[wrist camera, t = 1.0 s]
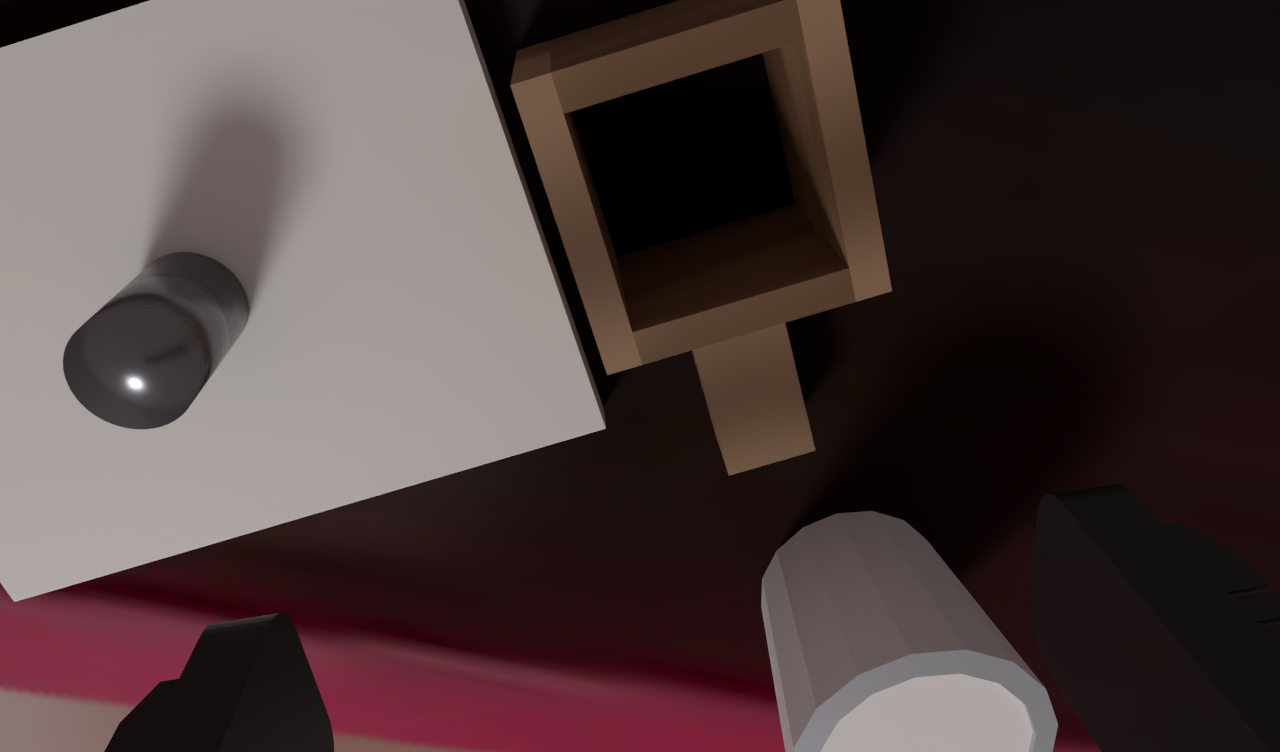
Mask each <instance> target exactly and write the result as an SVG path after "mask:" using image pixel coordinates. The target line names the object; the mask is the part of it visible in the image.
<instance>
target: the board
mask: <svg viewBox="0 0 1280 752" xmlns="http://www.w3.org/2000/svg"><path fill="white" fill-rule="evenodd" d="M176 252H192V253H198V254H202V255H205V256H208V257H210V258H213V259H215V260H217V261H218V262H220V263H222V264H223V265H225V266H226V267H227V268H228V269H229V270H231V271H232V272H233V274H234V275H235V276H236V277H237V278H238V280H239V281H240V282H241V284H242V286H243V287H244V290H245V292H246V294H247V298H248V303H249V316H248V321H247V324H246V327H245V329H244V331H243V332H242V334H241V335H240V336H239V338H238V339H237V341H236V342H235V343H234V345H233V346H232V348H231V349H230V350H229V352H228V353H227V355H226V356H225V357H224V359H223V360H222V362H221V363H220V365H219V366H218V367H217V369H216V370H215V372H214V373H213V374H212V376H211V377H210V379H209V380H208V381H207V383H206V384H205V386H204V387H203V388H202V390H201V391H200V393H199V394H198V395H197V397H196V398H195V400H194V401H193V402H192V404H191V405H190V407H189V408H188V409H187V411H186V412H185V413H184V414H183V415H182V416H181V417H179V418H178V419H177V420H175V421H173V422H171V423H169V424H167V425H164V426H162V427H158V428H153V429H129V428H124V427H120V426H117V425H114V424H111V423H109V422H106V421H104V420H102V419H100V418H99V417H97V416H95V415H94V414H92V413H91V412H90V411H88V410H87V409H86V408H85V407H84V406H83V405H82V404H81V403H80V402H79V401H78V400H77V399H76V397H75V396H74V394H73V393H72V392H71V390H70V388H69V386H68V384H67V381H66V379H65V375H64V371H63V354H64V351H65V347H66V345H67V343H68V341H69V339H70V338H71V336H72V335H73V334H74V333H75V332H76V331H77V329H79V328H80V327H81V326H82V325H83V324H84V323H85V322H86V321H87V320H89V319H90V318H91V317H92V316H93V315H94V314H95V313H96V312H97V311H99V310H100V309H101V308H102V307H103V306H104V305H105V304H106V303H107V302H108V301H110V300H111V299H112V298H113V297H114V296H115V295H116V294H117V293H118V292H120V291H121V290H122V289H123V288H124V287H125V286H126V285H127V284H128V283H129V282H131V281H132V280H133V279H134V278H135V277H136V276H137V275H138V274H139V273H141V272H142V271H143V270H144V269H145V268H146V267H147V266H148V265H149V264H151V263H152V262H153V261H154V260H156V259H158V258H160V257H162V256H164V255H167V254H171V253H176ZM602 429H606V425H605V417H604V408H603V405H602V402H601V399H600V396H599V393H598V391H597V388H596V385H595V382H594V379H593V376H592V373H591V370H590V367H589V364H588V361H587V358H586V355H585V353H584V350H583V347H582V344H581V341H580V338H579V335H578V332H577V329H576V326H575V323H574V320H573V317H572V315H571V312H570V309H569V306H568V303H567V300H566V297H565V294H564V291H563V288H562V285H561V282H560V279H559V277H558V274H557V271H556V268H555V265H554V262H553V259H552V256H551V253H550V250H549V247H548V244H547V241H546V239H545V236H544V233H543V230H542V227H541V224H540V221H539V218H538V215H537V212H536V209H535V206H534V203H533V201H532V198H531V195H530V192H529V189H528V186H527V183H526V180H525V177H524V174H523V171H522V168H521V165H520V163H519V160H518V157H517V154H516V151H515V148H514V145H513V142H512V139H511V136H510V133H509V130H508V128H507V125H506V122H505V119H504V116H503V113H502V110H501V107H500V104H499V101H498V98H497V95H496V92H495V90H494V87H493V84H492V81H491V78H490V75H489V72H488V69H487V66H486V63H485V60H484V57H483V54H482V52H481V49H480V46H479V43H478V40H477V37H476V34H475V31H474V28H473V25H472V22H471V19H470V16H469V14H468V11H467V8H466V5H465V2H464V0H149V1H146V2H143V3H140V4H137V5H133V6H130V7H127V8H124V9H121V10H118V11H115V12H111V13H108V14H105V15H102V16H99V17H96V18H93V19H90V20H86V21H83V22H80V23H77V24H74V25H71V26H68V27H64V28H61V29H58V30H55V31H52V32H49V33H46V34H42V35H39V36H36V37H33V38H30V39H27V40H24V41H21V42H17V43H14V44H11V45H8V46H5V47H2V48H0V583H1V584H2V586H3V587H4V588H5V590H6V591H7V592H8V594H9V595H10V597H11V598H12V599H13V601H14V602H16V601H19V600H23V599H26V598H30V597H33V596H36V595H40V594H43V593H47V592H50V591H53V590H57V589H60V588H64V587H67V586H70V585H74V584H77V583H81V582H84V581H88V580H91V579H94V578H98V577H101V576H105V575H108V574H111V573H115V572H118V571H122V570H125V569H128V568H132V567H135V566H139V565H142V564H145V563H149V562H152V561H156V560H159V559H163V558H166V557H169V556H173V555H176V554H180V553H183V552H186V551H190V550H193V549H197V548H200V547H203V546H207V545H210V544H214V543H217V542H220V541H224V540H227V539H231V538H234V537H238V536H241V535H244V534H248V533H251V532H255V531H258V530H261V529H265V528H268V527H272V526H275V525H278V524H282V523H285V522H289V521H292V520H296V519H299V518H302V517H306V516H309V515H313V514H316V513H319V512H323V511H326V510H330V509H333V508H336V507H340V506H343V505H347V504H350V503H353V502H357V501H360V500H364V499H367V498H371V497H374V496H377V495H381V494H384V493H388V492H391V491H394V490H398V489H401V488H405V487H408V486H411V485H415V484H418V483H422V482H425V481H429V480H432V479H435V478H439V477H442V476H446V475H449V474H452V473H456V472H459V471H463V470H466V469H469V468H473V467H476V466H480V465H483V464H486V463H490V462H493V461H497V460H500V459H504V458H507V457H510V456H514V455H517V454H521V453H524V452H527V451H531V450H534V449H538V448H541V447H544V446H548V445H551V444H555V443H558V442H561V441H565V440H568V439H572V438H575V437H579V436H582V435H585V434H589V433H592V432H596V431H599V430H602Z"/></svg>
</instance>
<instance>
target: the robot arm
mask: <svg viewBox="0 0 1280 752" xmlns="http://www.w3.org/2000/svg"><path fill="white" fill-rule="evenodd" d="M1032 613H1033V623H1034V629H1035V634H1036V638H1037V641H1038V645H1039V648H1040V651H1041V653H1042V656H1043V658H1044V661H1045V663H1046V665H1047V667H1048V668H1049V670H1050V672H1051V673H1052V675H1053V677H1054V678H1055V680H1056V681H1057V683H1058V684H1059V686H1060V688H1061V689H1062V691H1063V692H1064V694H1065V695H1066V697H1067V698H1068V700H1069V702H1070V703H1071V705H1072V706H1073V708H1074V709H1075V711H1076V713H1077V714H1078V716H1079V717H1080V719H1081V720H1082V722H1083V723H1084V725H1085V727H1086V728H1087V730H1088V731H1089V733H1090V734H1091V736H1092V738H1093V739H1094V741H1095V742H1096V744H1097V745H1098V747H1099V748H1100V750H1101V752H1280V595H1279V594H1278V593H1277V592H1275V593H1272V592H1271V591H1270V588H1269V584H1267V583H1266V582H1265V581H1264V580H1263V579H1262V578H1261V577H1260V576H1259V575H1258V574H1257V573H1256V572H1255V571H1254V570H1253V569H1252V568H1251V567H1250V566H1249V565H1248V564H1247V563H1246V562H1245V561H1243V560H1242V559H1241V558H1240V557H1239V556H1238V555H1237V554H1236V553H1235V552H1234V551H1233V550H1231V549H1230V548H1228V547H1226V546H1224V545H1222V544H1220V543H1218V542H1216V541H1214V540H1212V539H1210V538H1209V537H1207V536H1205V535H1203V534H1201V533H1199V532H1197V531H1195V530H1193V529H1191V528H1189V527H1188V526H1186V525H1184V524H1182V523H1180V524H1174V525H1168V526H1163V525H1162V524H1161V523H1160V522H1159V521H1158V520H1157V519H1156V518H1155V517H1154V516H1153V515H1152V514H1151V513H1150V512H1149V511H1148V510H1147V509H1146V508H1145V507H1144V506H1143V505H1142V504H1141V503H1140V502H1139V501H1138V500H1137V499H1136V498H1135V497H1134V496H1133V495H1132V494H1131V493H1130V492H1129V491H1128V490H1127V489H1126V488H1125V487H1123V486H1121V485H1118V484H1112V485H1106V486H1100V487H1093V488H1087V489H1081V490H1074V491H1068V492H1061V493H1055V494H1049V495H1045V496H1044V497H1043V498H1042V499H1041V501H1040V503H1039V507H1038V512H1037V528H1036V547H1035V567H1034V586H1033V606H1032ZM104 752H334V741H333V733H332V728H331V723H330V720H329V716H328V714H327V711H326V708H325V706H324V703H323V700H322V698H321V695H320V692H319V689H318V687H317V684H316V681H315V679H314V676H313V673H312V671H311V668H310V665H309V663H308V660H307V657H306V655H305V652H304V649H303V647H302V644H301V641H300V639H299V636H298V633H297V631H296V628H295V626H294V624H293V622H292V620H291V619H290V618H289V617H288V616H287V615H286V614H283V613H278V614H272V615H265V616H259V617H253V618H246V619H240V620H234V621H227V622H221V623H215V624H211V625H209V626H207V627H206V628H205V630H204V631H203V632H202V634H201V636H200V638H199V640H198V642H197V644H196V646H195V648H194V650H193V652H192V654H191V656H190V658H189V660H188V662H187V664H186V666H185V668H184V670H183V672H182V674H181V676H180V678H179V679H175V680H169V681H163V682H160V683H159V684H158V685H157V686H156V687H155V688H154V689H153V690H152V691H151V692H150V693H149V694H148V695H147V696H146V697H145V698H144V699H143V700H142V701H141V702H140V703H139V704H138V705H137V706H136V707H135V708H134V709H133V710H132V711H131V712H130V713H129V714H128V715H127V716H126V717H125V718H124V719H123V720H122V721H121V722H120V724H119V725H118V728H117V729H116V731H115V733H114V735H113V737H112V739H111V740H110V742H109V744H108V746H107V748H106V750H105V751H104Z"/></svg>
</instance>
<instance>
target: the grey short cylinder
mask: <svg viewBox="0 0 1280 752" xmlns="http://www.w3.org/2000/svg"><path fill="white" fill-rule="evenodd" d="M761 607H762V613H763V619H764V625H765V631H766V637H767V643H768V649H769V655H770V661H771V667H772V673H773V679H774V685H775V691H776V697H777V703H778V709H779V715H780V721H781V727H782V733H783V739H784V745H785V751H786V752H1052V751H1053V746H1054V742H1055V737H1056V732H1057V727H1058V723H1057V720H1056V717H1055V714H1054V711H1053V708H1052V705H1051V702H1050V699H1049V697H1048V694H1047V691H1046V688H1045V687H1044V686H1043V685H1042V683H1041V682H1040V681H1039V680H1038V678H1037V677H1036V676H1035V675H1034V673H1033V672H1032V671H1031V670H1030V668H1029V667H1028V666H1027V665H1026V663H1025V662H1024V661H1023V660H1022V658H1021V657H1020V656H1019V655H1018V653H1017V652H1016V651H1015V650H1014V648H1013V647H1012V646H1011V645H1010V643H1009V642H1008V641H1007V640H1006V638H1005V637H1004V636H1003V635H1002V633H1001V632H1000V631H999V630H998V628H997V627H996V626H995V625H994V623H993V622H992V621H991V620H990V618H989V617H988V616H987V615H986V613H985V612H984V611H983V610H982V608H981V607H980V606H979V605H978V603H977V602H976V601H975V600H974V598H973V597H972V596H971V595H970V593H969V592H968V591H967V590H966V588H965V587H964V586H963V585H962V583H961V582H960V581H959V580H958V578H957V577H956V576H955V575H954V573H953V572H952V571H951V570H950V568H949V567H948V566H947V565H946V563H945V562H944V561H943V560H942V558H941V557H940V556H939V555H938V553H937V552H936V551H935V550H934V548H933V547H932V546H931V545H930V543H929V542H928V541H927V540H926V539H925V538H924V537H923V536H922V535H921V534H919V533H918V532H917V531H916V530H915V529H914V528H912V527H911V526H910V525H909V524H908V523H907V522H905V521H904V520H902V519H898V518H895V517H892V516H888V515H885V514H881V513H878V512H874V511H864V512H850V513H837V514H834V515H832V516H829V517H827V518H825V519H822V520H820V521H817V522H815V523H813V524H810V525H808V526H805V527H803V528H802V529H801V530H800V531H798V532H797V533H796V534H795V535H794V536H793V537H792V538H790V539H789V540H788V541H787V542H786V543H785V544H784V545H782V546H781V547H780V548H779V549H778V550H777V551H776V553H775V555H774V557H773V559H772V561H771V563H770V565H769V567H768V568H767V570H766V572H765V574H764V576H763V578H762V603H761Z"/></svg>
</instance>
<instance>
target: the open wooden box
mask: <svg viewBox="0 0 1280 752" xmlns="http://www.w3.org/2000/svg"><path fill="white" fill-rule="evenodd" d="M760 53H762V54H763V58H764V63H765V68H766V72H767V77H768V81H769V86H770V91H771V95H772V100H773V104H774V109H775V114H776V118H777V123H778V127H779V132H780V137H781V141H782V146H783V150H784V155H785V160H786V164H787V169H788V173H789V178H790V183H791V187H792V192H793V196H794V201H795V204H793V205H790V206H786V207H783V208H780V209H776V210H773V211H770V212H766V213H763V214H760V215H756V216H753V217H750V218H746V219H743V220H740V221H736V222H733V223H730V224H726V225H723V226H720V227H716V228H713V229H710V230H706V231H703V232H700V233H696V234H693V235H690V236H686V237H683V238H680V239H676V240H673V241H670V242H666V243H663V244H660V245H657V246H653V247H650V248H647V249H643V250H640V251H637V252H633V253H630V254H627V255H623V256H620V257H617V256H616V253H615V250H614V247H613V243H612V240H611V237H610V234H609V231H608V227H607V224H606V221H605V218H604V215H603V211H602V208H601V205H600V202H599V198H598V195H597V192H596V189H595V186H594V182H593V179H592V176H591V173H590V169H589V166H588V163H587V160H586V157H585V153H584V150H583V147H582V144H581V140H580V137H579V134H578V131H577V128H576V124H575V121H574V118H573V115H572V111H575V110H578V109H581V108H585V107H588V106H591V105H594V104H598V103H601V102H604V101H607V100H611V99H614V98H617V97H620V96H624V95H627V94H630V93H633V92H637V91H640V90H643V89H646V88H650V87H653V86H656V85H659V84H663V83H666V82H669V81H672V80H676V79H679V78H682V77H685V76H689V75H692V74H695V73H698V72H702V71H705V70H708V69H711V68H715V67H718V66H721V65H724V64H727V63H731V62H734V61H737V60H740V59H744V58H747V57H750V56H753V55H757V54H760ZM510 86H511V89H512V92H513V95H514V98H515V101H516V104H517V107H518V110H519V113H520V116H521V119H522V122H523V125H524V128H525V131H526V134H527V137H528V140H529V143H530V146H531V149H532V152H533V155H534V158H535V161H536V164H537V167H538V170H539V173H540V175H541V178H542V181H543V184H544V187H545V190H546V193H547V196H548V199H549V202H550V205H551V208H552V211H553V214H554V217H555V220H556V223H557V226H558V229H559V232H560V235H561V238H562V241H563V244H564V247H565V250H566V253H567V256H568V259H569V262H570V265H571V268H572V271H573V274H574V277H575V280H576V283H577V286H578V289H579V292H580V295H581V298H582V301H583V304H584V307H585V310H586V313H587V316H588V319H589V322H590V325H591V328H592V331H593V334H594V337H595V340H596V343H597V346H598V349H599V352H600V355H601V358H602V361H603V364H604V367H605V370H606V373H607V375H610V374H613V373H616V372H620V371H623V370H627V369H630V368H633V367H637V366H640V365H643V364H647V363H650V362H654V361H657V360H660V359H664V358H667V357H670V356H674V355H677V354H681V353H684V352H687V351H691V350H692V353H693V357H694V360H695V364H696V367H697V371H698V374H699V378H700V381H701V385H702V388H703V392H704V395H705V399H706V402H707V406H708V409H709V413H710V416H711V420H712V423H713V427H714V430H715V434H716V437H717V440H718V444H719V447H720V450H721V453H722V456H723V459H724V462H725V465H726V468H727V471H728V474H729V475H733V474H736V473H740V472H743V471H746V470H750V469H753V468H757V467H760V466H764V465H767V464H771V463H774V462H778V461H781V460H784V459H788V458H791V457H795V456H798V455H802V454H805V453H809V452H812V451H815V447H814V443H813V439H812V434H811V430H810V426H809V422H808V417H807V413H806V409H805V405H804V400H803V396H802V392H801V388H800V383H799V379H798V375H797V371H796V366H795V362H794V358H793V354H792V349H791V345H790V341H789V337H788V332H787V328H786V324H785V323H786V322H789V321H792V320H796V319H799V318H802V317H806V316H809V315H813V314H816V313H819V312H823V311H826V310H829V309H833V308H836V307H840V306H843V305H846V304H850V303H853V302H857V301H860V300H863V299H867V298H870V297H873V296H877V295H880V294H884V293H887V292H890V291H892V288H891V283H890V277H889V272H888V266H887V260H886V255H885V249H884V244H883V238H882V232H881V227H880V221H879V216H878V210H877V204H876V199H875V193H874V188H873V182H872V176H871V171H870V165H869V160H868V154H867V148H866V143H865V137H864V132H863V126H862V120H861V115H860V109H859V104H858V98H857V92H856V87H855V81H854V76H853V70H852V64H851V59H850V53H849V48H848V42H847V36H846V31H845V25H844V20H843V14H842V8H841V3H840V0H677V1H674V2H671V3H668V4H665V5H661V6H658V7H655V8H652V9H649V10H645V11H642V12H639V13H636V14H633V15H629V16H626V17H623V18H620V19H616V20H613V21H610V22H607V23H604V24H600V25H597V26H594V27H591V28H588V29H584V30H581V31H578V32H575V33H572V34H568V35H565V36H562V37H559V38H555V39H552V40H549V41H546V42H543V43H539V44H536V45H533V46H530V47H527V48H523V49H520V50H517V53H516V58H515V63H514V69H513V74H512V79H511V84H510Z"/></svg>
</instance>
